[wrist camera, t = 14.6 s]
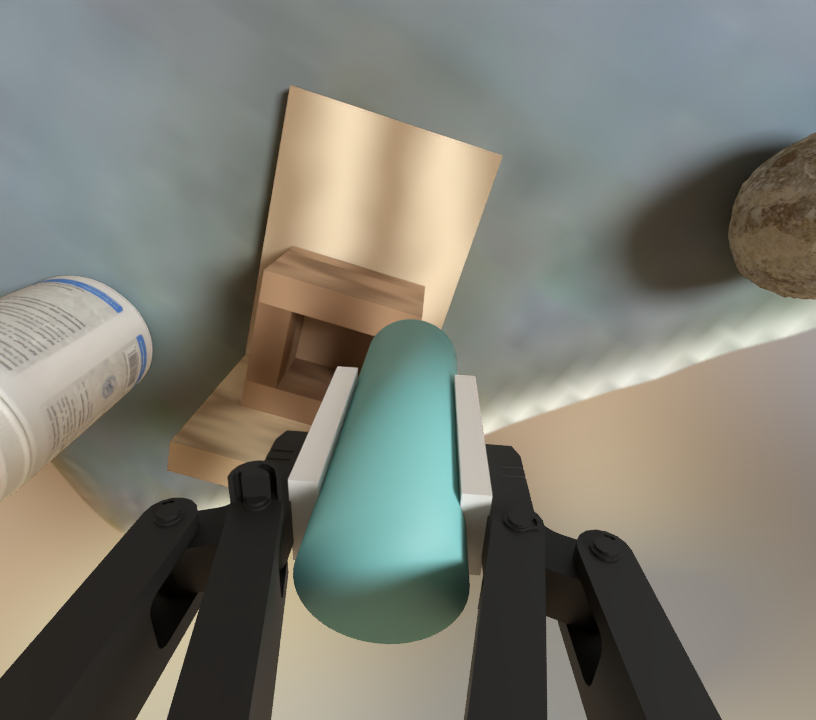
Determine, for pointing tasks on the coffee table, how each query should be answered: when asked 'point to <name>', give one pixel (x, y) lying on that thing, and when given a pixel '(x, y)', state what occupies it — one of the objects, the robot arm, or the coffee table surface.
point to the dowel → (391, 499)
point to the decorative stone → (779, 223)
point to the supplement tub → (62, 368)
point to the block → (317, 328)
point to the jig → (348, 241)
